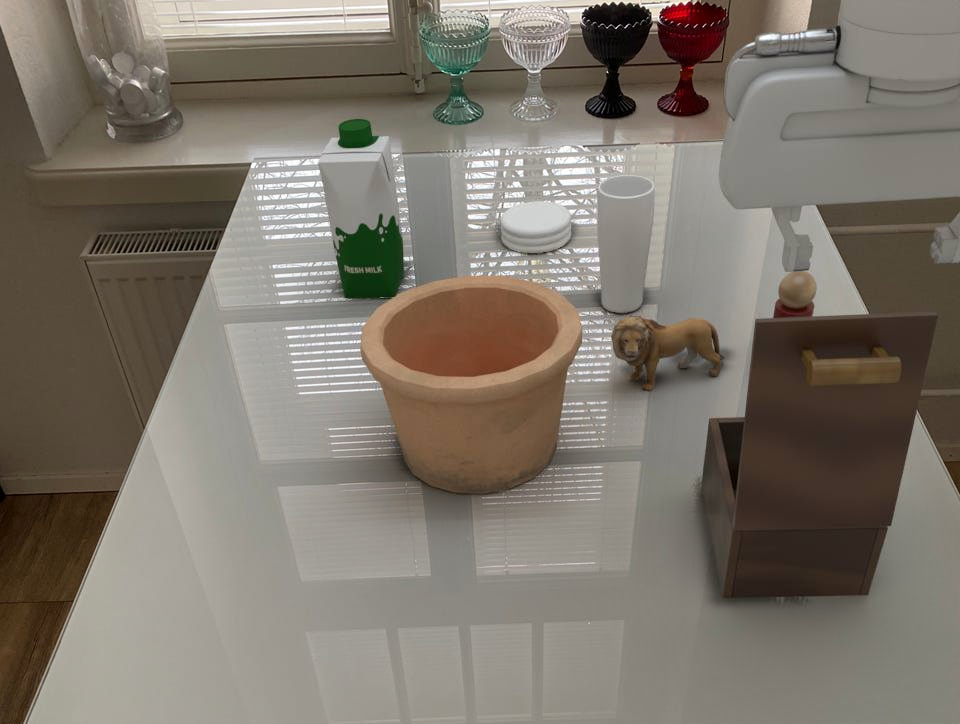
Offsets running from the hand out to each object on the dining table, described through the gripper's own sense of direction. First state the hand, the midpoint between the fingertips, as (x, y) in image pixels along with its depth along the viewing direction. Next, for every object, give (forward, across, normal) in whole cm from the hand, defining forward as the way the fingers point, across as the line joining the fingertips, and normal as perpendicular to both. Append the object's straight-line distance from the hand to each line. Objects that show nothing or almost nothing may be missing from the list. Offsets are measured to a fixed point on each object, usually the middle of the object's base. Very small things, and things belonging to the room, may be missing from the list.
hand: (868, 263), depth 65 cm
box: (+32, 0, +9) cm, 33 cm away
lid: (+14, 0, +2) cm, 14 cm away
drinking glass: (+32, -12, +56) cm, 66 cm away
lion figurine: (+32, -8, +38) cm, 50 cm away
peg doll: (+32, +6, +41) cm, 52 cm away
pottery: (+32, -29, +26) cm, 50 cm away
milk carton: (+32, -45, +64) cm, 84 cm away
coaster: (+32, -23, +76) cm, 86 cm away
